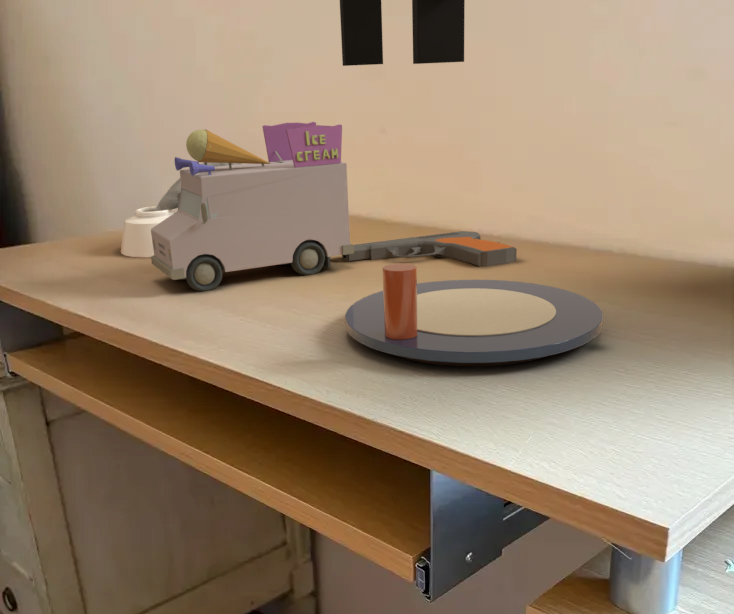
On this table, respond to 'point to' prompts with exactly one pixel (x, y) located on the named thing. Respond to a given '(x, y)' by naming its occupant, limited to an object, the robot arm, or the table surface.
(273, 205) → the toy vehicle
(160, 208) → the inkwell
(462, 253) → the handgun
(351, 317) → the plate
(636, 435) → the table surface
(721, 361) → the table surface
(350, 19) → the robot arm
